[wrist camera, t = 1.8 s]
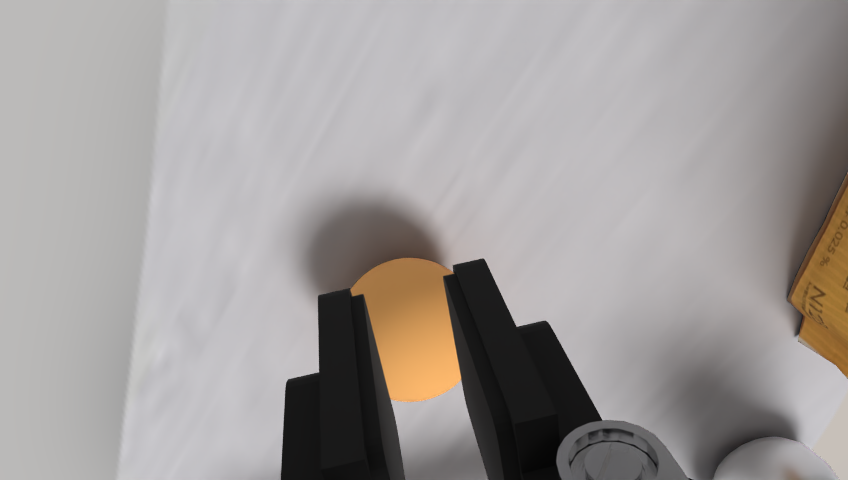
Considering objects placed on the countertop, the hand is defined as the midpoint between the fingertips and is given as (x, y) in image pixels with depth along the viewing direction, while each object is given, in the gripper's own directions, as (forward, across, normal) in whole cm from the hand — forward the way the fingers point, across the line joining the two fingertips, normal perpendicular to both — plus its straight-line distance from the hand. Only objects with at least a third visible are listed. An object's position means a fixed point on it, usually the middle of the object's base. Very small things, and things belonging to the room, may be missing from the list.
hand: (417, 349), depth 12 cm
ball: (+14, 0, +10) cm, 17 cm away
